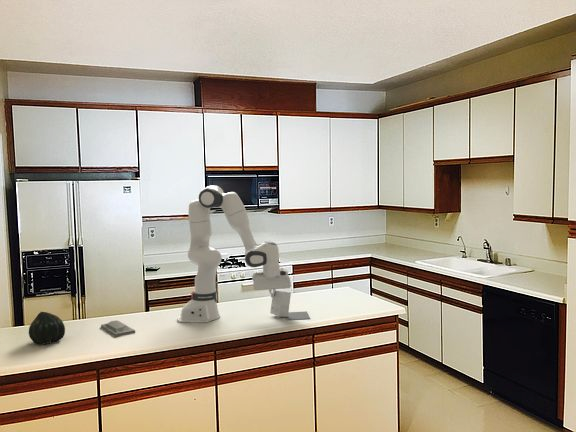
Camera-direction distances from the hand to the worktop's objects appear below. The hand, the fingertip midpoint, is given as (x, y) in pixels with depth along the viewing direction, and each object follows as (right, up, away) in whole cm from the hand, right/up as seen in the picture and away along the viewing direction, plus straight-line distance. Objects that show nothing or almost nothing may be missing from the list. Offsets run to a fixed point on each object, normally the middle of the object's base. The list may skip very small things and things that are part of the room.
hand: (272, 297), depth 249 cm
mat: (+13, -10, +1) cm, 17 cm away
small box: (+3, -10, +1) cm, 11 cm away
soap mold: (-77, -15, -16) cm, 80 cm away
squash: (-105, -16, -31) cm, 110 cm away
